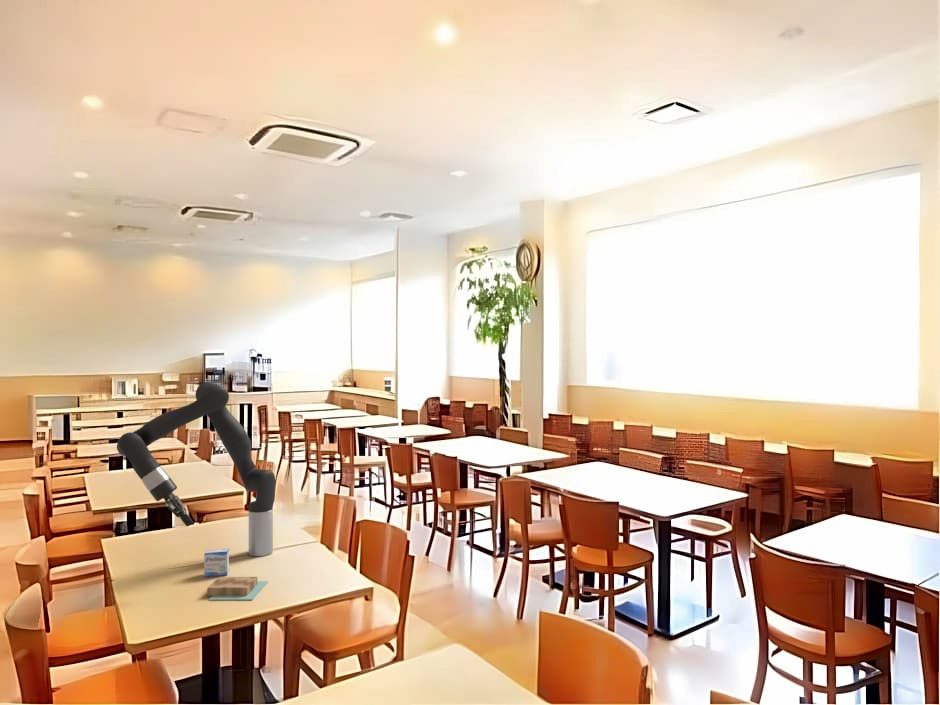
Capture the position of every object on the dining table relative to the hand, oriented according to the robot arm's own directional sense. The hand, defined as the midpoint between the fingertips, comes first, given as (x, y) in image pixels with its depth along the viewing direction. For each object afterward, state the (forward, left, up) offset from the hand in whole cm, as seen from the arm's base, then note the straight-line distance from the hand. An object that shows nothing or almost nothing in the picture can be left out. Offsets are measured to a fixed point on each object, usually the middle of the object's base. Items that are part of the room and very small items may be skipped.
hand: (190, 524), depth 213 cm
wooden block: (+3, +9, -20) cm, 22 cm away
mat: (+3, +18, -22) cm, 28 cm away
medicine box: (-13, +4, -22) cm, 26 cm away
